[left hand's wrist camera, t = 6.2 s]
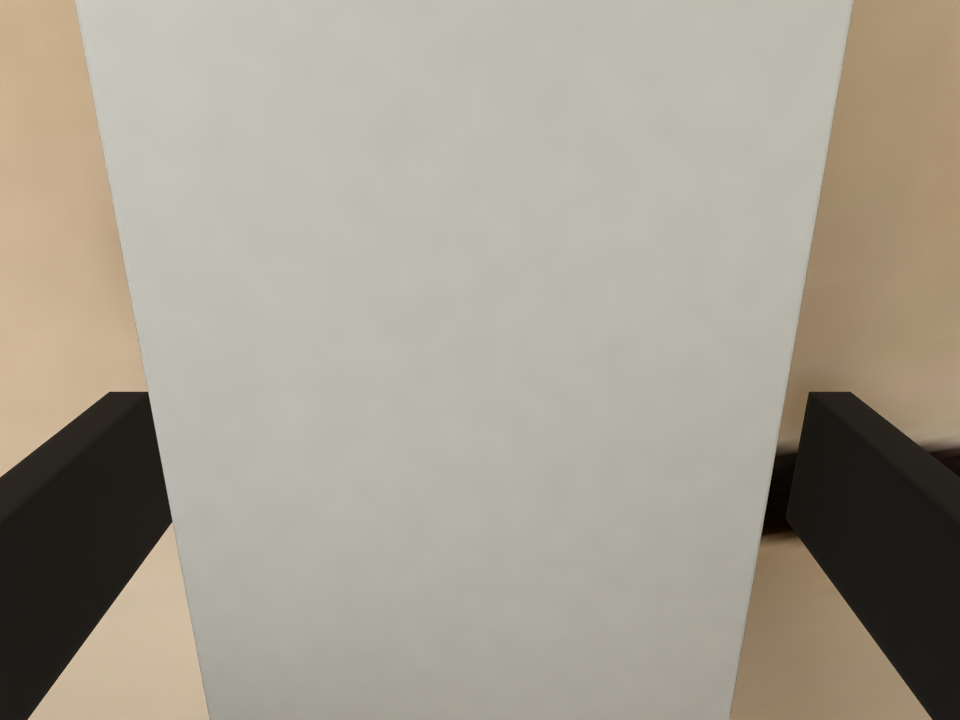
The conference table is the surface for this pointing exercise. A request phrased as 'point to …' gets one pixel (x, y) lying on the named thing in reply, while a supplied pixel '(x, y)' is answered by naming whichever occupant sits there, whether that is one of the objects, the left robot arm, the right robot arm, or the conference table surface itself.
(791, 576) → the conference table surface
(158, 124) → the post
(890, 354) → the conference table surface
